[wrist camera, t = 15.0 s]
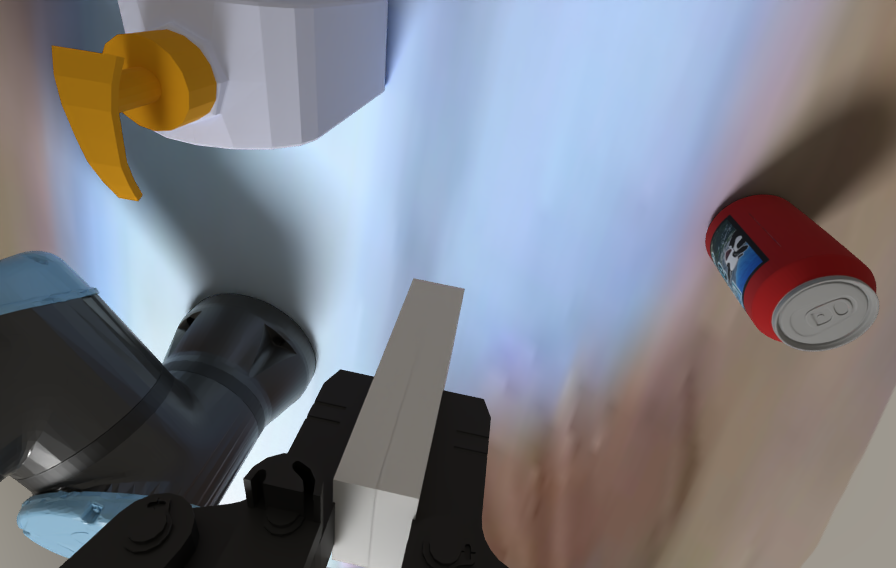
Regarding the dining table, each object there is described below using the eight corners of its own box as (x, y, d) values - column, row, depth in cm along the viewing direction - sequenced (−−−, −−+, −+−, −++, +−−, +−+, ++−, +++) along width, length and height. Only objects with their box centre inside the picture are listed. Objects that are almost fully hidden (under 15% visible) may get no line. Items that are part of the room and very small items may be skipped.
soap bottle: (276, 83, 37) (5, 186, 18) (267, -21, 33) (-87, -30, 14) (386, 101, 37) (228, 226, 17) (390, -3, 33) (194, 12, 14)
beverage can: (686, 221, 38) (742, 305, 28) (774, 172, 35) (871, 246, 25) (723, 279, 40) (787, 375, 30) (809, 237, 37) (911, 329, 27)
